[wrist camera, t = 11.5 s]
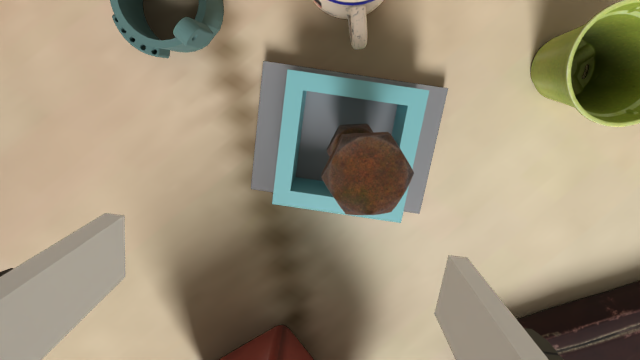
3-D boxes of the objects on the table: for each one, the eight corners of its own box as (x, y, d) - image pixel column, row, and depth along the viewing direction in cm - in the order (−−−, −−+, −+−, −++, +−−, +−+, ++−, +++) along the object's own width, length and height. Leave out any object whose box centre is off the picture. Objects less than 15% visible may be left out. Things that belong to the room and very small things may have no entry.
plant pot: (625, 22, 35) (717, 3, 27) (594, 121, 37) (670, 133, 29) (527, 11, 35) (588, -11, 27) (503, 111, 37) (552, 119, 29)
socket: (253, 185, 40) (239, 204, 34) (266, 61, 37) (252, 57, 31) (416, 208, 40) (431, 232, 34) (443, 88, 37) (466, 89, 31)
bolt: (359, 178, 38) (381, 233, 24) (315, 156, 38) (310, 199, 23) (386, 127, 37) (428, 153, 22) (342, 104, 36) (354, 115, 22)
